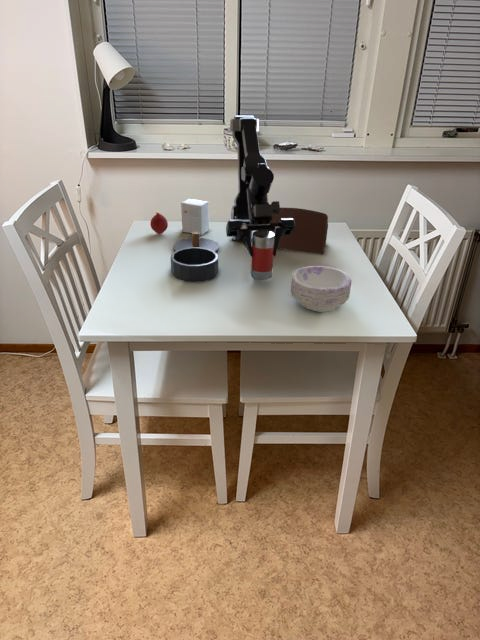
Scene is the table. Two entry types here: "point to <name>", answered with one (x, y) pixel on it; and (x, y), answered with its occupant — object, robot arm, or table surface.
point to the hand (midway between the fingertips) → (263, 256)
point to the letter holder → (303, 230)
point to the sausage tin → (262, 254)
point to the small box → (195, 216)
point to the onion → (159, 223)
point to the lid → (196, 243)
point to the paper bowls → (320, 287)
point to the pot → (194, 264)
